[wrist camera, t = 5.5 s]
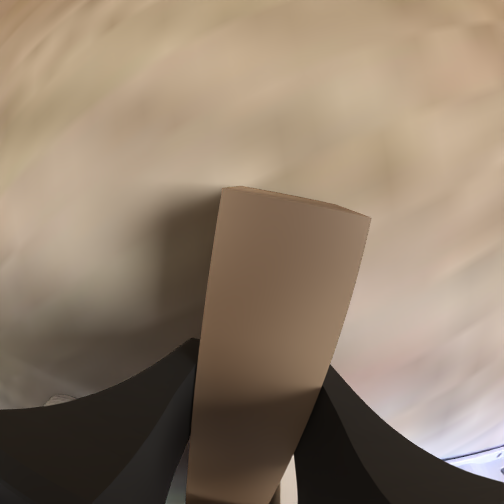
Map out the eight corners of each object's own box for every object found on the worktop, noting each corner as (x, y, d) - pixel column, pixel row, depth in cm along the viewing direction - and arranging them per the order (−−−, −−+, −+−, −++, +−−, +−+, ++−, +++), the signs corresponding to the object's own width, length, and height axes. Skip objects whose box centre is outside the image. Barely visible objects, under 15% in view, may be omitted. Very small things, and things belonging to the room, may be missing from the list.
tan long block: (335, 204, 9) (371, 217, 6) (248, 497, 13) (243, 547, 9) (240, 186, 9) (221, 188, 6) (196, 488, 13) (183, 537, 10)
